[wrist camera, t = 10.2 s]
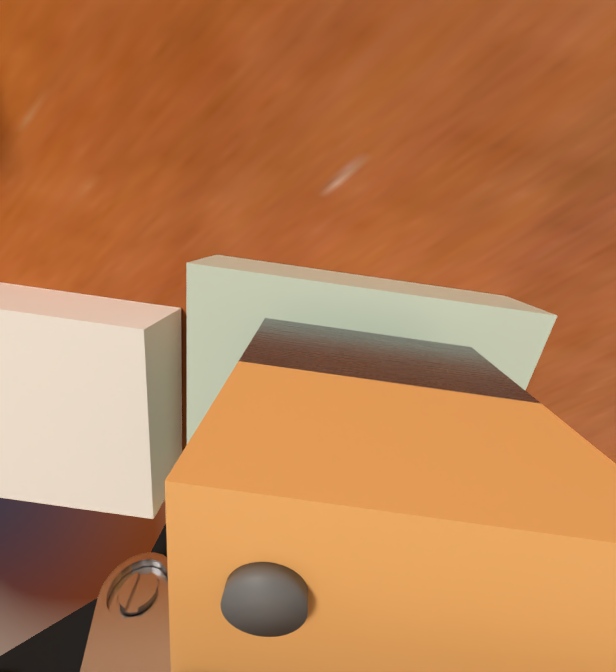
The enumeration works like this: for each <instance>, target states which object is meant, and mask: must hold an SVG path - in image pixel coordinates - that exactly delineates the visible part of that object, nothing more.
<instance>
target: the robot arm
mask: <svg viewBox="0 0 616 672" xmlns="http://www.w3.org/2000/svg"><path fill="white" fill-rule="evenodd" d="M0 672H171V659H170V628H169V597H168V566H167V535H166V524H165V526H164V528H163V530H162V532H161V534H160V536H159V538H158V540H157V541H156V544H155V545H154V547H153V549H152V551H151V553H143V554H140V555H137V556H134V557H131V558H130V559H128V560H126V561H125V562H123V563H122V564H120V565H119V566H118V567H117V568H116V569H115V570H114V571H113V572H112V573H111V574H110V575H109V577H108V578H107V579H106V581H105V583H104V584H103V585H102V588H101V591H100V593H99V596H98V598H97V599H95V600H93V601H92V602H90V603H88V604H87V605H85V606H83V607H82V608H80V609H78V610H77V611H75V612H73V613H72V614H70V615H68V616H67V617H65V618H63V619H62V620H60V621H58V622H57V623H55V624H53V625H52V626H50V627H49V628H47V629H45V630H43V631H42V632H40V633H38V634H36V635H35V636H33V637H31V638H30V639H28V640H26V641H25V642H24V643H21V644H20V645H18V646H16V647H15V648H13V649H11V650H10V651H8V652H7V653H5V654H3V655H1V656H0Z"/></svg>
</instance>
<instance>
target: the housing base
mask: <svg viewBox="0 0 616 672" xmlns="http://www.w3.org/2000/svg"><path fill="white" fill-rule="evenodd" d="M239 361H241V362H249V363H256V364H263V365H270V366H277V367H284V368H291V369H298V370H306V371H313V372H320V373H327V374H334V375H341V376H348V377H355V378H363V379H370V380H377V381H384V382H391V383H398V384H405V385H413V386H420V387H427V388H434V389H441V390H448V391H455V392H462V393H470V394H477V395H484V396H491V397H498V398H505V399H512V400H519V401H527V402H534V403H540V402H539V401H537V400H536V399H535V398H534V397H532V396H531V395H530V394H529V393H527V392H526V391H525V390H524V389H523V388H521V387H520V386H519V385H518V384H516V383H515V382H514V381H513V380H511V379H510V378H509V377H508V376H506V375H505V374H504V373H503V372H502V371H500V370H499V369H498V368H497V367H495V366H494V365H493V364H492V363H490V362H489V361H488V360H487V359H485V358H484V357H483V356H482V355H480V354H479V353H478V352H477V351H476V350H474V349H473V348H472V347H468V346H460V345H453V344H446V343H439V342H432V341H425V340H418V339H411V338H404V337H397V336H390V335H383V334H376V333H368V332H361V331H354V330H347V329H340V328H333V327H326V326H319V325H312V324H305V323H298V322H291V321H284V320H277V319H269V318H265V319H264V321H263V322H262V324H261V325H260V327H259V329H258V330H257V332H256V334H255V335H254V337H253V338H252V340H251V342H250V343H249V345H248V347H247V348H246V350H245V351H244V353H243V355H242V356H241V358H240V360H239Z"/></svg>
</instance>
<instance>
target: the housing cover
mask: <svg viewBox="0 0 616 672" xmlns="http://www.w3.org/2000/svg"><path fill="white" fill-rule="evenodd" d="M165 504H166V535H167V566H168V597H169V628H170V659H171V672H616V464H615V463H614V462H613V461H611V460H610V459H609V458H608V457H607V456H605V455H604V454H603V453H602V452H600V451H599V450H598V449H597V448H595V447H594V446H593V445H592V444H590V443H589V442H588V441H587V440H586V439H584V438H583V437H582V436H581V435H579V434H578V433H577V432H576V431H574V430H573V429H572V428H571V427H569V426H568V425H567V424H566V423H565V422H563V421H562V420H561V419H560V418H558V417H557V416H556V415H555V414H553V413H552V412H551V411H550V410H548V409H547V408H546V407H545V406H543V405H542V404H541V403H534V402H527V401H519V400H512V399H505V398H498V397H491V396H484V395H477V394H470V393H462V392H455V391H448V390H441V389H434V388H427V387H420V386H413V385H405V384H398V383H391V382H384V381H377V380H370V379H363V378H355V377H348V376H341V375H334V374H327V373H320V372H313V371H306V370H298V369H291V368H284V367H277V366H270V365H263V364H256V363H249V362H241V361H238V363H237V364H236V366H235V368H234V369H233V371H232V372H231V374H230V376H229V377H228V379H227V381H226V382H225V384H224V385H223V387H222V389H221V390H220V392H219V394H218V395H217V397H216V398H215V400H214V402H213V403H212V405H211V407H210V408H209V410H208V411H207V413H206V415H205V416H204V418H203V420H202V421H201V423H200V424H199V426H198V428H197V429H196V431H195V433H194V434H193V436H192V437H191V439H190V441H189V442H188V444H187V446H186V447H185V449H184V450H183V452H182V454H181V455H180V457H179V459H178V460H177V462H176V463H175V465H174V467H173V468H172V470H171V472H170V473H169V475H168V476H167V478H166V480H165Z"/></svg>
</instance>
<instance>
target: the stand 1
mask: <svg viewBox="0 0 616 672" xmlns="http://www.w3.org/2000/svg"><path fill="white" fill-rule="evenodd" d="M181 454H182V356H181V308H178V307H171V306H164V305H157V304H149V303H142V302H135V301H128V300H121V299H114V298H107V297H100V296H93V295H86V294H79V293H72V292H65V291H58V290H51V289H44V288H37V287H30V286H23V285H16V284H9V283H2V282H0V498H7V499H14V500H21V501H28V502H36V503H43V504H50V505H58V506H64V507H71V508H78V509H86V510H94V511H100V512H107V513H115V514H122V515H129V516H136V517H143V518H151V519H154V517H155V515H156V513H157V512H158V510H159V508H160V507H161V505H162V503H163V501H164V500H165V480H166V478H167V476H168V475H169V473H170V472H171V470H172V468H173V467H174V465H175V463H176V462H177V460H178V459H179V457H180V455H181Z"/></svg>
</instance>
